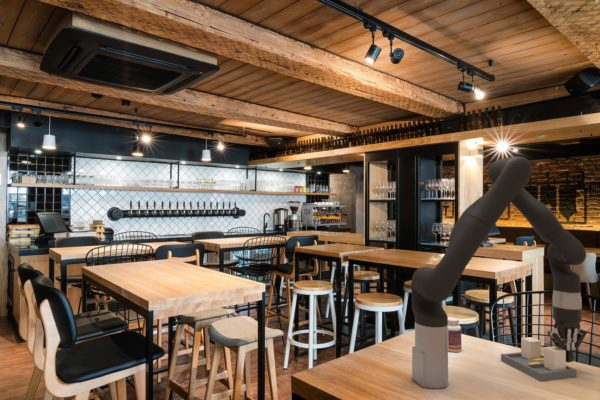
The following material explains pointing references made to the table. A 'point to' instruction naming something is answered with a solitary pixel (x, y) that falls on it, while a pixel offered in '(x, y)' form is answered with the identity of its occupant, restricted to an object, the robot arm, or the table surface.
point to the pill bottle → (454, 335)
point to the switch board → (536, 367)
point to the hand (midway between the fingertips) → (567, 361)
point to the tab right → (554, 358)
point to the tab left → (530, 348)
